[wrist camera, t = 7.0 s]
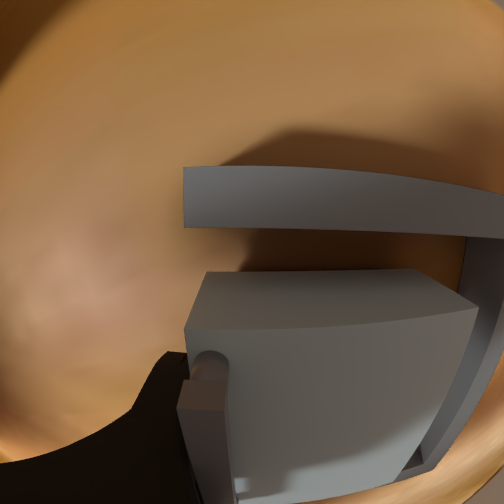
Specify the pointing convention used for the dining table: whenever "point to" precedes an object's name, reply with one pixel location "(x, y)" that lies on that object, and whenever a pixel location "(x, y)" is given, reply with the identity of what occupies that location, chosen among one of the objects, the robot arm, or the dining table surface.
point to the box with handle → (315, 379)
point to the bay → (385, 220)
